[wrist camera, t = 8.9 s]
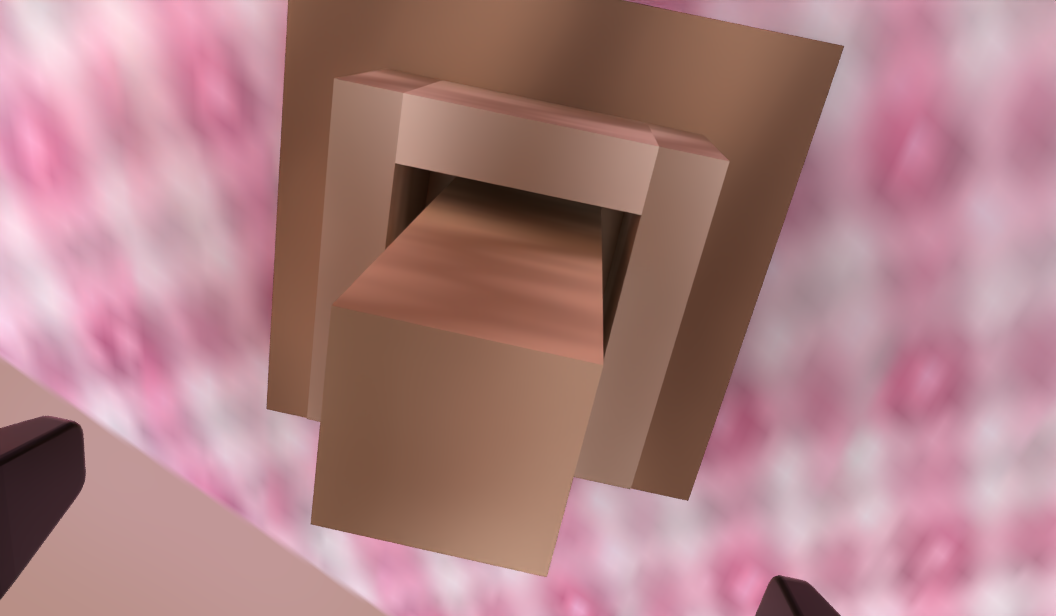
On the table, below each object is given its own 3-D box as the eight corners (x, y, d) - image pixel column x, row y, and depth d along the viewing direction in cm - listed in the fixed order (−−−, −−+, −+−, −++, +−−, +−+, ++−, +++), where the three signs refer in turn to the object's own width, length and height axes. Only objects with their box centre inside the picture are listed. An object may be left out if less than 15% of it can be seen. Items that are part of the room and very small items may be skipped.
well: (831, 45, 18) (911, 50, 14) (684, 482, 23) (705, 593, 19) (307, -64, 18) (209, -94, 14) (279, 394, 24) (202, 482, 19)
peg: (601, 203, 19) (603, 365, 10) (570, 333, 21) (546, 577, 12) (459, 172, 19) (331, 305, 10) (438, 304, 21) (310, 524, 12)
